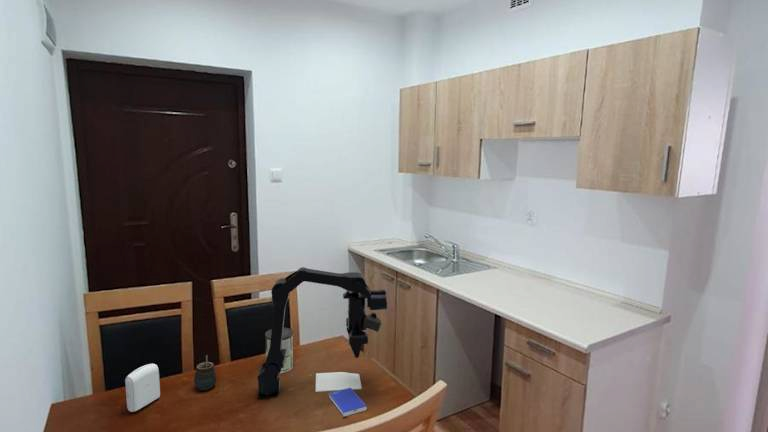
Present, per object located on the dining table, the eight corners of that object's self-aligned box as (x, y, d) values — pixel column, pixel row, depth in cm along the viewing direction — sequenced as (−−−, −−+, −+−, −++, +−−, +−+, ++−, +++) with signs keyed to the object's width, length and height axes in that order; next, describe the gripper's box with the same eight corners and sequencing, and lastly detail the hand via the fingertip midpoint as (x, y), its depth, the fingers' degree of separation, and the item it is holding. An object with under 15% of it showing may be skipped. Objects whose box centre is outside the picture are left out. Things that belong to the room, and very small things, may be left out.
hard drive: (329, 392, 141) (343, 412, 130) (351, 387, 144) (366, 405, 134) (329, 397, 141) (343, 416, 130) (351, 391, 145) (366, 410, 134)
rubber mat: (315, 391, 144) (315, 391, 144) (316, 374, 156) (316, 373, 156) (361, 389, 146) (361, 388, 146) (358, 371, 159) (358, 371, 159)
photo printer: (134, 413, 130) (132, 376, 128) (124, 410, 131) (122, 373, 130) (162, 396, 139) (160, 361, 138) (153, 394, 141) (151, 359, 139)
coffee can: (261, 366, 161) (260, 331, 160) (284, 358, 168) (284, 325, 167) (273, 376, 154) (273, 340, 152) (298, 368, 161) (298, 333, 159)
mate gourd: (194, 394, 141) (193, 366, 140) (194, 383, 148) (193, 356, 147) (217, 390, 144) (216, 362, 143) (216, 379, 151) (215, 353, 150)
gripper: (383, 318, 135) (382, 364, 137) (376, 300, 154) (375, 341, 155) (349, 320, 134) (349, 366, 135) (346, 301, 152) (345, 342, 154)
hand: (356, 353), depth 145 cm, fingers open, 6 cm apart
